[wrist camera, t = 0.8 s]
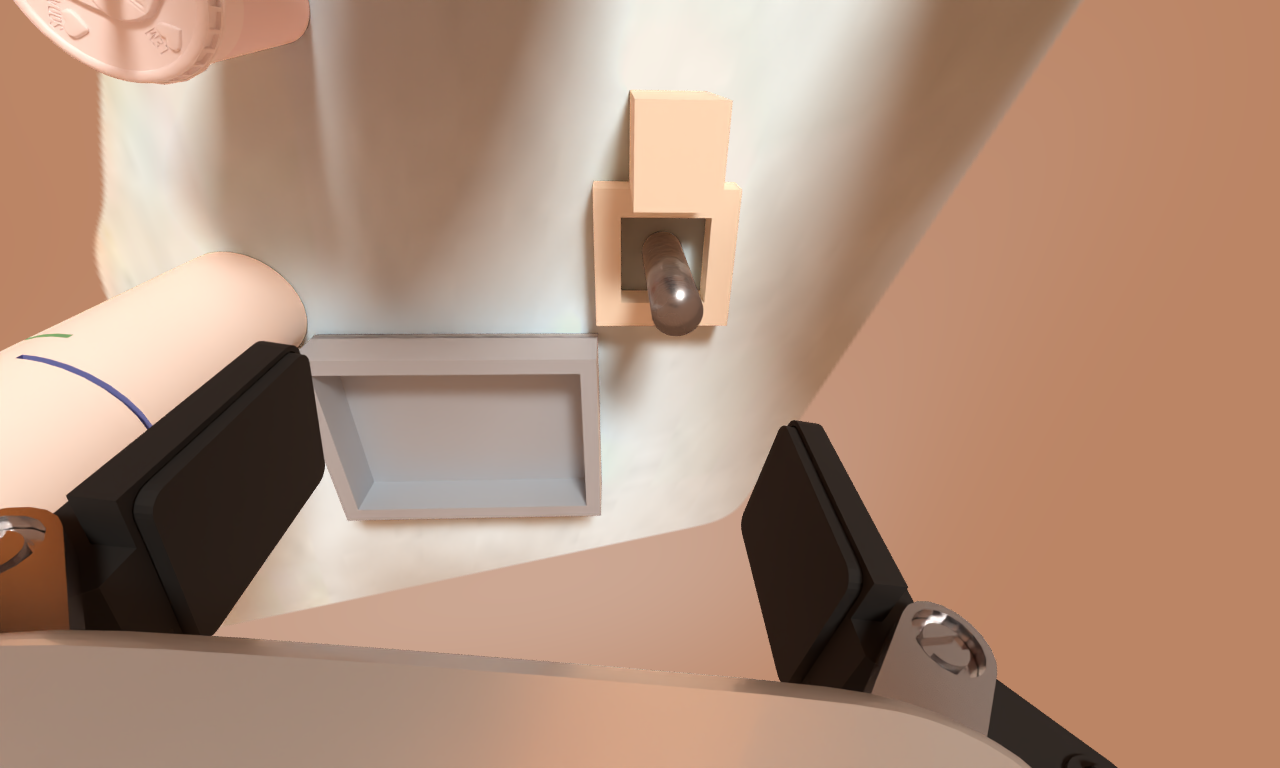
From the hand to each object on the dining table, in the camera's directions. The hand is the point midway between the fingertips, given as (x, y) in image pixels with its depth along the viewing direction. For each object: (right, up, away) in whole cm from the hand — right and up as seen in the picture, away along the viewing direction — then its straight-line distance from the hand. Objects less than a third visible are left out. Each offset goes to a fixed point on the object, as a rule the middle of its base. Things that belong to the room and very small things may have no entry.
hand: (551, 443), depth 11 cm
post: (+3, +9, +21) cm, 23 cm away
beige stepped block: (+3, +11, +20) cm, 23 cm away
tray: (-10, -1, +27) cm, 29 cm away
